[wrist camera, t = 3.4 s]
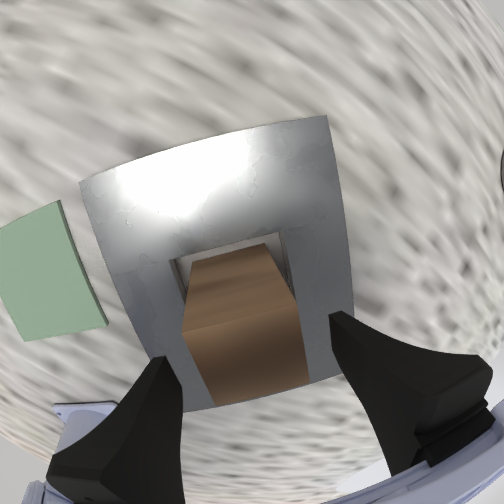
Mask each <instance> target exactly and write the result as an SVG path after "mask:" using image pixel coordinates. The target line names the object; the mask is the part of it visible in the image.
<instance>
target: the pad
mask: <svg viewBox="0 0 504 504" xmlns="http://www.w3.org/2000/svg"><path fill="white" fill-rule="evenodd" d="M0 297H1V299H2V301H3V303H4V305H5V307H6V309H7V311H8V313H9V315H10V317H11V319H12V321H13V323H14V324H15V326H16V328H17V330H18V332H19V333H20V335H21V337H22V339H23V340H24V342H26V341H32V340H38V339H44V338H49V337H55V336H60V335H65V334H71V333H76V332H81V331H86V330H91V329H96V328H101V327H106V326H107V325H108V321H107V319H106V317H105V315H104V313H103V311H102V309H101V307H100V305H99V303H98V300H97V298H96V296H95V294H94V292H93V289H92V287H91V285H90V283H89V280H88V278H87V276H86V273H85V271H84V268H83V266H82V263H81V261H80V258H79V256H78V253H77V251H76V248H75V245H74V242H73V240H72V237H71V234H70V231H69V228H68V225H67V222H66V219H65V216H64V213H63V210H62V207H61V204H60V200H58V201H56V202H54V203H51V204H49V205H47V206H45V207H43V208H40V209H38V210H36V211H34V212H32V213H30V214H28V215H26V216H24V217H22V218H20V219H18V220H16V221H14V222H12V223H10V224H8V225H6V226H4V227H2V228H0Z"/></svg>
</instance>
